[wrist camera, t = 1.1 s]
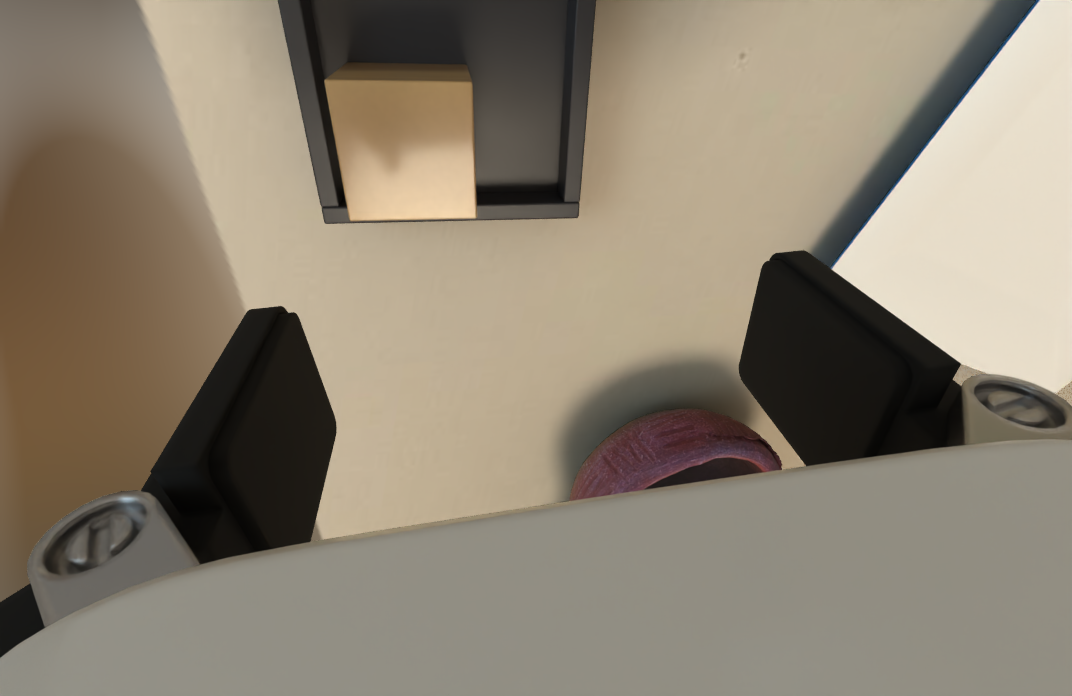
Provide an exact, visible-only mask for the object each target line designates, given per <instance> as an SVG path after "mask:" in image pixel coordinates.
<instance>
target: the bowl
mask: <svg viewBox="0 0 1072 696" xmlns="http://www.w3.org/2000/svg"><path fill="white" fill-rule="evenodd" d="M779 458H780V457H779V456H778V455H777V453H776V452H775V451H773V449H772V448H771V446H770V445H769V444H768V443H767V441H766V440H764V439H763V438H762V437H761V436H760V435H759V434H757V433H756V432H754V431H753V430H752V429H750V428H749V427H747V426H746V425H744V424H742V423H740V422H738V421H736V420H734V419H732V418H730V417H728V416H725V415H722V414H719V413H715V412H712V411H708V410H703V409H673V410H665V411H659V412H655V413H651V414H648V415H645V416H642V417H639V418H637V419H635V420H633V421H631V422H629V423H627V424H626V425H624V426H622V427H621V428H619V429H618V430H617V431H615V432H614V433H613V434H611V435H610V436H609V437H608V438H606V439H605V440H604V441H603V442H602V443H601V444H600V445H599V446H597V447H596V448H595V450H594V451H593V452H592V453H591V454H590V455H589V456H588V458H587V459H586V460H585V461H584V463H583V464H582V466H581V468H580V470H579V471H578V474H577V476H576V478H575V481H574V484H573V487H572V490H571V495H570V500H569V501H574V500H580V499H587V498H594V497H600V496H607V495H614V494H620V493H627V492H634V491H640V490H647V489H654V488H661V487H667V486H674V485H681V484H688V483H694V482H701V481H708V480H715V479H721V478H728V477H735V476H742V475H749V474H756V473H763V472H770V471H777V470H782V468H781V466H782V463H781V460H780V459H779Z"/></svg>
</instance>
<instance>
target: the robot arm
mask: <svg viewBox="0 0 1072 696" xmlns="http://www.w3.org/2000/svg"><path fill="white" fill-rule="evenodd" d="M960 365H961V363H960V362H958V361H957V360H956V359H954V358H953V357H951V356H950V355H949V354H947V353H946V352H944V351H943V350H942V349H940V348H939V347H938V346H936V345H935V344H933V343H932V342H931V341H929V340H928V339H927V338H925V337H924V336H922V335H921V334H920V333H918V332H917V331H916V330H914V329H913V328H911V327H910V326H909V325H907V324H906V323H905V322H903V321H902V320H900V319H899V318H898V317H896V316H895V315H894V314H892V313H891V312H889V311H888V310H887V309H885V308H884V307H883V306H881V305H880V304H878V303H877V302H876V301H874V300H873V299H872V298H870V297H869V296H867V295H866V294H865V293H863V292H862V291H861V290H859V289H858V288H856V287H855V286H854V285H852V284H851V283H850V282H848V281H847V280H845V279H844V278H843V277H841V276H840V275H839V274H837V273H836V272H834V271H833V270H832V269H830V268H829V267H828V266H826V265H825V264H823V263H822V262H821V261H819V260H818V259H816V258H815V257H814V256H812V255H811V254H810V253H808V252H806V251H804V250H803V251H793V252H783V253H775V254H774V255H772V257H771V258H770V260H769V261H767V262H765V263H764V264H763V266H762V269H761V273H760V277H759V281H758V286H757V290H756V294H755V298H754V303H753V307H752V311H751V316H750V320H749V324H748V329H747V333H746V337H745V341H744V346H743V350H742V354H741V359H740V363H739V374H740V377H741V380H742V382H743V383H744V384H745V386H746V387H747V388H748V390H749V391H750V392H751V394H752V395H753V396H754V398H755V399H756V400H757V402H758V403H759V404H760V406H761V407H762V408H763V409H764V411H765V412H766V413H767V415H768V416H769V417H770V419H771V420H772V421H773V423H774V424H775V425H776V427H777V428H778V429H779V431H780V432H781V433H782V435H783V436H784V437H785V438H786V440H787V441H788V442H789V444H790V445H791V446H792V448H793V449H794V450H795V452H796V453H797V454H798V456H799V457H800V458H801V460H802V461H803V462H804V464H805V465H806V466H805V467H798V468H791V469H784V470H777V471H770V472H763V473H756V474H749V475H742V476H735V477H728V478H721V479H715V480H708V481H701V482H694V483H688V484H681V485H674V486H667V487H661V488H654V489H647V490H640V491H634V492H627V493H620V494H614V495H607V496H600V497H594V498H587V499H580V500H574V501H567V502H560V503H554V504H547V505H541V506H534V507H528V508H521V509H515V510H508V511H502V512H495V513H489V514H483V515H476V516H470V517H463V518H457V519H450V520H444V521H437V522H431V523H424V524H418V525H411V526H405V527H399V528H392V529H386V530H380V531H373V532H367V533H361V534H355V535H349V536H343V537H336V538H330V539H324V540H318V541H313V542H310V541H311V537H312V533H313V529H314V524H315V520H316V516H317V512H318V508H319V504H320V500H321V495H322V491H323V487H324V483H325V479H326V475H327V470H328V466H329V462H330V458H331V454H332V449H333V445H334V441H335V437H336V420H335V416H334V413H333V410H332V408H331V405H330V402H329V399H328V397H327V394H326V391H325V388H324V386H323V383H322V380H321V377H320V375H319V372H318V369H317V366H316V364H315V361H314V358H313V355H312V353H311V350H310V347H309V344H308V341H307V339H306V336H305V333H304V330H303V328H302V325H301V322H300V320H299V317H298V316H297V314H296V313H294V312H293V313H288V312H287V311H286V309H285V308H284V307H282V306H278V307H269V308H260V309H251V310H249V311H248V312H247V313H246V314H245V316H244V318H243V319H242V321H241V323H240V324H239V326H238V328H237V329H236V331H235V333H234V334H233V336H232V338H231V339H230V341H229V343H228V344H227V346H226V348H225V349H224V351H223V353H222V354H221V356H220V358H219V359H218V361H217V362H216V364H215V366H214V368H213V369H212V371H211V372H210V374H209V376H208V377H207V379H206V381H205V382H204V384H203V386H202V387H201V389H200V391H199V392H198V394H197V396H196V397H195V399H194V401H193V402H192V404H191V405H190V407H189V409H188V410H187V412H186V414H185V416H184V417H183V419H182V420H181V422H180V424H179V425H178V427H177V429H176V430H175V432H174V434H173V435H172V437H171V439H170V440H169V442H168V443H167V445H166V447H165V448H164V450H163V452H162V453H161V455H160V457H159V458H158V460H157V462H156V463H155V465H154V467H153V468H152V470H151V475H150V476H149V478H148V480H147V481H146V483H145V485H144V486H143V488H142V490H141V491H138V490H133V491H121V492H117V493H113V494H109V495H106V496H102V497H100V498H98V499H95V500H93V501H91V502H89V503H87V504H85V505H82V506H81V507H79V508H78V509H76V510H74V511H73V512H71V513H70V514H68V515H66V516H65V517H64V518H62V519H61V520H60V521H59V522H57V524H55V525H54V526H53V527H52V528H51V529H49V530H48V531H47V532H46V533H45V534H44V536H43V537H42V538H41V539H40V541H39V542H38V543H37V544H36V545H35V547H34V549H33V551H32V553H31V555H30V558H29V560H28V563H27V564H28V566H27V568H28V569H27V570H28V577H29V580H30V584H29V585H27V586H25V587H24V588H22V589H21V590H19V591H17V592H16V593H14V594H13V595H11V596H10V597H8V598H6V599H5V600H3V601H2V602H0V696H1072V406H1071V405H1070V404H1069V403H1068V402H1066V401H1065V400H1064V399H1063V398H1061V397H1059V396H1058V395H1056V394H1054V393H1053V392H1051V391H1049V390H1047V389H1045V388H1043V387H1041V386H1038V385H1036V384H1034V383H1031V382H1028V381H1025V380H1021V379H1018V378H1015V377H1009V376H1003V375H998V374H981V375H976V376H971V377H970V378H968V379H967V380H965V381H964V383H963V384H962V386H960V385H959V384H957V383H956V382H955V381H954V380H952V379H953V377H954V376H955V374H956V372H957V370H958V368H959V366H960Z"/></svg>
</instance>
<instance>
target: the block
mask: <svg viewBox="0 0 1072 696" xmlns="http://www.w3.org/2000/svg"><path fill="white" fill-rule="evenodd" d="M324 83H325V88H326V94H327V99H328V105H329V110H330V116H331V121H332V127H333V133H334V138H335V144H336V149H337V155H338V160H339V166H340V171H341V177H342V182H343V188H344V193H345V199H346V205H347V210H348V216H349V220H350V221H382V220H428V219H473V218H477V198H476V169H475V139H474V110H473V83H472V80H471V77H470V74H469V70H468V67H467V65H464V64H411V63H357V62H347V63H346V64H344V65H343V66H342V67H341V68H339V69H338V70H337V71H335V72H334V73H333V74H332V75H330V76H329V77H328V78H326V79H325V81H324Z"/></svg>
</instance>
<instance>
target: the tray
mask: <svg viewBox="0 0 1072 696" xmlns="http://www.w3.org/2000/svg"><path fill="white" fill-rule="evenodd" d="M278 4H279V9H280V13H281V18H282V23H283V28H284V32H285V37H286V42H287V47H288V52H289V56H290V61H291V66H292V71H293V75H294V80H295V85H296V90H297V94H298V99H299V104H300V109H301V114H302V118H303V123H304V128H305V133H306V137H307V142H308V147H309V152H310V156H311V161H312V166H313V171H314V176H315V180H316V185H317V190H318V195H319V199H320V204H321V206H322V213H323V218H324V222H325V223H326V224H337V223H381V222H425V221H469V220H513V219H557V218H578V216H579V201H580V191H581V179H582V167H583V155H584V142H585V130H586V118H587V106H588V93H589V81H590V69H591V56H592V44H593V32H594V20H595V7H596V0H278ZM347 62H357V63H411V64H464V65H467V67H468V70H469V74H470V77H471V80H472V83H473V110H474V139H475V169H476V198H477V218H473V219H428V220H382V221H350V220H349V216H348V210H347V205H346V199H345V193H344V188H343V182H342V177H341V171H340V166H339V160H338V155H337V149H336V144H335V138H334V133H333V127H332V121H331V116H330V110H329V105H328V99H327V94H326V88H325V83H324V81H325V79H326V78H328V77H329V76H330V75H332V74H333V73H334V72H335V71H337V70H338V69H339V68H341V67H342V66H343V65H344V64H346V63H347Z"/></svg>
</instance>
